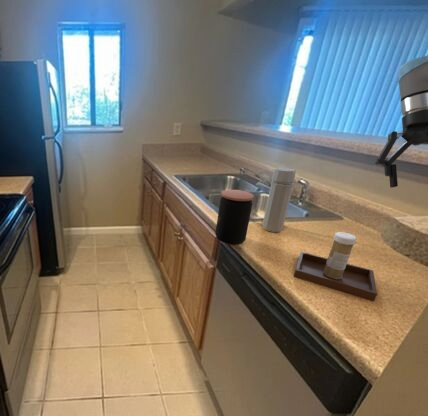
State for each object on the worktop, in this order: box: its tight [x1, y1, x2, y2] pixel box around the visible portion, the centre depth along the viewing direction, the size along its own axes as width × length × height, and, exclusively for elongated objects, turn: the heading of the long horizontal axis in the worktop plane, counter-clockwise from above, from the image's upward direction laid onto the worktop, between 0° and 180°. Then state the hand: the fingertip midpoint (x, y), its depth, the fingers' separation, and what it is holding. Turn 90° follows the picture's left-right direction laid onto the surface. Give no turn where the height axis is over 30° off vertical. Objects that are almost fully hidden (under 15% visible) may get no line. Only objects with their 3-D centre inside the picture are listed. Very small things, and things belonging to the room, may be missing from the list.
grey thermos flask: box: [262, 166, 297, 233], centre depth 107 cm, size 9×8×25 cm
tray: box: [293, 251, 378, 302], centre depth 81 cm, size 18×14×2 cm
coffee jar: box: [214, 189, 255, 245], centre depth 102 cm, size 11×11×18 cm
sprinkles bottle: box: [323, 231, 357, 279], centre depth 79 cm, size 5×5×13 cm
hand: (427, 185), depth 78 cm, fingers open, 13 cm apart
